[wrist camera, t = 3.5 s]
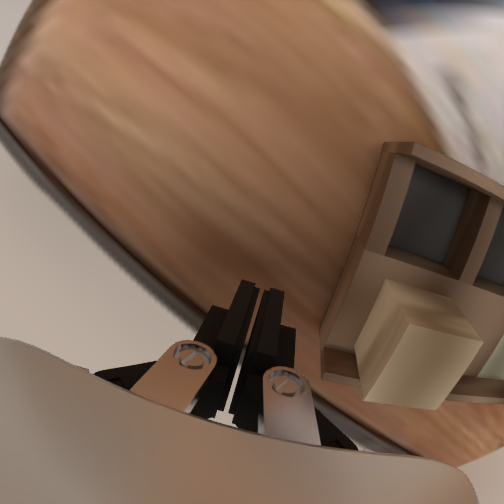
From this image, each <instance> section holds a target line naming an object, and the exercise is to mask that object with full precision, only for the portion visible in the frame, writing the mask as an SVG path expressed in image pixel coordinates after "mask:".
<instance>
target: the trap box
mask: <svg viewBox="0 0 504 504" xmlns="http://www.w3.org/2000/svg"><path fill="white" fill-rule="evenodd" d="M416 165H417V166H416ZM418 166H420V167H418ZM421 167H422V168H421ZM423 168H425V169H427V170H425V169H423ZM428 170H429V171H428ZM430 171H432V172H434V173H432V172H430ZM435 173H436V174H435ZM437 174H438V175H437ZM439 175H441V176H443V177H441V176H439ZM444 177H445V178H444ZM446 178H447V179H446ZM448 179H449V180H448ZM450 180H451V181H450ZM452 181H454V182H456V183H454V182H452ZM457 183H458V184H457ZM459 184H460V185H459ZM461 185H462V186H461ZM463 186H464V187H463ZM465 187H466V188H465ZM467 188H468V189H467ZM503 207H504V186H502V185H500V184H498V183H497V182H495V181H493V180H491V179H490V178H488V177H486V176H484V175H482V174H481V173H479V172H477V171H475V170H473V169H471V168H469V167H467V166H465V165H463V164H461V163H459V162H457V161H455V160H453V159H451V158H449V157H447V156H445V155H443V154H441V153H439V152H436V151H434V150H432V149H430V148H428V147H425V146H423V145H421V144H418V143H416V142H385V143H384V146H383V150H382V153H381V157H380V160H379V164H378V167H377V171H376V174H375V178H374V181H373V184H372V187H371V191H370V194H369V197H368V200H367V203H366V206H365V209H364V212H363V215H362V218H361V221H360V224H359V227H358V230H357V233H356V236H355V239H354V242H353V245H352V247H351V250H350V253H349V256H348V258H347V261H346V264H345V266H344V269H343V272H342V274H341V277H340V280H339V282H338V285H337V287H336V290H335V292H334V295H333V297H332V300H331V302H330V305H329V307H328V310H327V312H326V314H325V317H324V319H323V322H322V324H321V326H320V352H321V379H322V380H327V381H331V382H336V383H341V384H346V385H351V386H356V387H361V383H360V377H359V371H358V365H357V360H356V354H355V349H354V345H355V343H356V341H357V339H358V337H359V335H360V333H361V331H362V329H363V327H364V325H365V323H366V321H367V319H368V317H369V314H370V312H371V310H372V308H373V306H374V304H375V302H376V299H377V297H378V295H379V293H380V290H381V288H382V286H383V283H384V281H385V279H390V280H393V281H396V282H400V283H403V284H406V285H409V286H413V287H416V288H419V289H423V290H426V291H429V292H432V293H436V294H439V295H442V296H445V297H448V298H451V299H452V301H453V302H454V303H455V304H456V306H457V307H458V308H459V310H460V311H461V312H462V313H463V315H464V316H465V317H466V319H467V320H468V321H469V323H470V324H471V325H472V327H473V328H474V329H475V331H476V332H477V333H478V335H479V336H480V338H481V339H482V340H483V344H482V346H481V347H480V349H479V351H478V352H477V354H476V355H475V357H474V358H473V360H472V362H471V363H470V365H469V366H468V368H467V369H466V371H465V372H464V373H463V375H462V376H461V378H460V379H459V381H458V382H457V383H456V385H455V386H454V387H453V389H452V390H451V392H450V393H449V394H448V396H447V397H446V398H445V399H444V400H450V401H460V402H473V403H488V404H504V208H503Z"/></svg>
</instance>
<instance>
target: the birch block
mask: <svg viewBox="0 0 504 504" xmlns="http://www.w3.org/2000/svg"><path fill="white" fill-rule="evenodd" d="M482 344H483V340H482V339H481V338H480V336H479V335H478V333H477V332H476V331H475V329H474V328H473V327H472V325H471V324H470V323H469V321H468V320H467V319H466V317H465V316H464V315H463V313H462V312H461V311H460V310H459V308H458V307H457V306H456V304H455V303H454V302H453V301H452V299H451V298H448V297H445V296H442V295H439V294H436V293H432V292H429V291H426V290H423V289H419V288H416V287H413V286H409V285H406V284H403V283H400V282H396V281H393V280H390V279H385V281H384V283H383V286H382V288H381V290H380V293H379V295H378V297H377V299H376V302H375V304H374V306H373V308H372V310H371V312H370V314H369V317H368V319H367V321H366V323H365V325H364V327H363V329H362V331H361V333H360V335H359V337H358V339H357V341H356V343H355V345H354V349H355V354H356V360H357V365H358V371H359V377H360V383H361V390H362V396H363V401H368V402H374V403H380V404H387V405H394V406H401V407H409V408H418V409H427V410H437V408H438V407H439V406H440V405H441V403H442V402H443V401H444V399H445V398H446V397H447V396H448V394H449V393H450V392H451V390H452V389H453V387H454V386H455V385H456V383H457V382H458V381H459V379H460V378H461V376H462V375H463V373H464V372H465V371H466V369H467V368H468V366H469V365H470V363H471V362H472V360H473V358H474V357H475V355H476V354H477V352H478V351H479V349H480V347H481V346H482Z"/></svg>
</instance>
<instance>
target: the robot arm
mask: <svg viewBox="0 0 504 504" xmlns="http://www.w3.org/2000/svg"><path fill="white" fill-rule="evenodd" d="M255 284H256V283H252V282H249V281H245V280H242V281H241V283H240V285H239V287H238V290H237V292H236V294H235V297H234V299H233V301H232V304H231V306H230V308H229V310H227V309H224V308H221V307H217V306H214V305H212V307H211V308H210V310H209V312H208V314H207V316H206V318H205V320H204V321H203V323H202V325H201V327H200V329H199V331H198V333H197V334H196V336H195V338H194V340H193V341H191V340H184V341H179V342H176V343H175V344H173V345H172V346H171V347H170V348H169V349H168V350H167V351H166V352H165V353H164V354H163V355H162V356H161V357H160V358H159V360H158V361H153V362H148V363H142V364H137V365H131V366H125V367H119V368H113V369H108V370H102V371H98V372H96V373H95V374H91V373H89V369H86V368H82V367H79V366H75V365H73V364H71V363H69V362H67V361H65V360H63V359H61V358H59V357H57V356H55V355H53V354H51V353H49V352H47V351H44V350H42V349H40V348H38V347H35V346H33V345H31V344H27V343H25V342H22V341H19V340H14V339H10V338H5V337H0V504H479V500H478V498H477V495H476V492H475V490H474V488H473V485H472V484H471V482H470V480H469V479H468V477H467V476H466V475H465V474H464V473H463V472H462V471H461V470H459V469H457V468H456V467H454V466H452V465H449V464H447V463H444V462H441V461H438V460H434V459H430V458H425V457H418V456H411V455H399V454H388V453H378V452H375V451H371V450H368V449H365V448H364V450H363V451H359V450H358V448H357V446H356V445H355V444H354V443H353V442H352V441H351V440H350V439H349V438H348V437H347V436H346V435H344V434H343V433H342V432H341V431H340V430H339V429H338V428H337V427H336V426H335V425H334V424H332V423H331V422H330V421H329V420H328V419H327V418H326V417H325V416H324V415H323V414H322V413H321V412H320V411H319V410H318V409H316V408H315V407H314V404H313V399H312V394H311V389H310V385H309V382H308V380H307V379H306V378H305V376H304V375H302V374H301V373H300V372H298V371H296V370H294V356H295V338H296V329H295V328H291V327H287V326H283V325H280V324H281V316H282V308H283V300H284V291H280V290H277V289H273V288H270V291H267V290H264V293H263V296H262V299H261V303H260V306H259V309H258V313H257V316H256V319H255V322H254V326H253V329H252V332H251V336H250V339H249V342H248V345H247V349H246V352H245V356H244V359H243V363H242V366H241V370H240V374H239V377H238V381H237V384H236V388H235V391H234V395H233V398H232V402H231V405H230V409H229V413H230V414H234V417H233V421H232V423H233V424H236V426H237V427H238V428H236V427H232V426H229V425H225V424H222V423H218V422H215V421H212V420H208V418H211V417H212V418H215V415H216V412H217V410H220V411H224V407H225V404H226V401H227V398H228V395H229V392H230V388H231V385H232V381H233V378H234V375H235V372H236V369H237V365H238V362H239V359H240V355H241V352H242V349H243V345H244V342H245V339H246V335H247V332H248V328H249V325H250V321H251V318H252V315H253V311H254V308H255V304H256V301H257V297H258V294H259V290H260V288H256V287H255Z"/></svg>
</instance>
